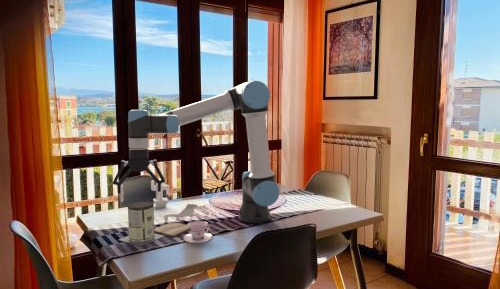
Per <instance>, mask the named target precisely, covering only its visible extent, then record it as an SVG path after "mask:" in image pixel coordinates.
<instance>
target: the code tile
mask: <svg viewBox="0 0 500 289" xmlns="http://www.w3.org/2000/svg"><path fill="white" fill-rule="evenodd" d="M154 235H155V237H154V238H153V239H151V240H149V241H144V242H133V241H130V240H129V235H126V236H124V237H122V238H119V239H118V241H121V242H123V243H127V244H131V245H135V246H138V247H143V246H145V245H147V244H150V243H152V242H155V241H157V240H158V239H162V238H164V237H165V235H162V234H158V233H154Z"/></svg>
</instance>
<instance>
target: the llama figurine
mask: <svg viewBox="0 0 500 289" xmlns="http://www.w3.org/2000/svg"><path fill="white" fill-rule="evenodd" d="M196 209H199V210H202V211H203V213H205V214H206V215H209V214H210V212H209V211H207V210H205V209H204V208H203V207H202V206H200V205H198V204H197V203H190V202H188V203H186V205H185V207H184V208H182V210H181V211H179V212H177V213H176V212H171V213H165V214H164V215H163V218H164V221H165V222H166V223H168V220H169V217H173V218H186V217H190V218H192V217H197V218H201V219H204V220H207V219H208V217H207V216H203V215H200V214H197V213H195V210H196Z"/></svg>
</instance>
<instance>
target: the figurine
mask: <svg viewBox="0 0 500 289" xmlns="http://www.w3.org/2000/svg"><path fill="white" fill-rule="evenodd" d="M158 179H159V180H161V179H160V178H158ZM150 189H151V191H153V192H156V184H155V180H154V179H152V180H150ZM163 191H165V192H166V195H168V196H169V195H170V185H169V184H163V183H161V191H160V192H158V200H156V197H155V198H153V199H152V200H153V203H154V206H155V207H156V208H166V206H167V205H168V202H169V199H168V197H164V194H163Z"/></svg>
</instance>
